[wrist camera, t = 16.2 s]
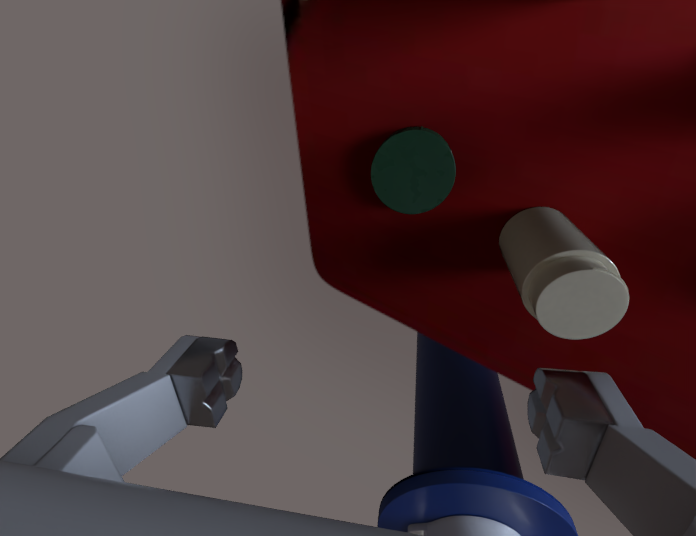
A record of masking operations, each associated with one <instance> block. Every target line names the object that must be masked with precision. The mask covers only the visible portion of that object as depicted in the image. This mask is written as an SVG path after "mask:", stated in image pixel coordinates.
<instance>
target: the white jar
mask: <svg viewBox="0 0 696 536" xmlns="http://www.w3.org/2000/svg"><path fill="white" fill-rule="evenodd" d="M499 247H500V251H501V254H502V256H503V258H504V260H505V263H506V265H507V267H508V270H509V272H510V274H511V276H512V279H513V281H514V283H515V286H516V288H517V290H518V292H519V295H520V297H521V299H522V302H523V304H524V306H525V308H526V309H527V311H528V312H529V313H530V314H531V315H532V316H533V317H535V318H536V319H538V321H539V323H540V324H541V326H542V327H543V328H544V329H545V330H547V331H548V332H549V333H551V334H553V335H555V336H558V337H561V338H566V339H586V338H591V337H594V336H598V335H600V334H602V333H604V332H606V331H608V330H610V329H611V328H612V327H614V326H615V325H616V324H617V323H618V322H619V321H620V320H621V319H622V317H623V316H624V314H625V312H626V310H627V307H628V302H629V294H628V288H627V286H626V284H625V282H624V280H622V279H621V278H620V274H619V271H618V269H617V267H616V266H615V264H614V263H613V262H612V261H611V260H610V259H609V258H608V257H607V256H606V255H605V254H604V253H603V252H602V251H601V250H600V249H599V248H598V247H597V246H596V245H594V244H593V243H592V242H591V241H590V240H589V239H588V238H587V237H586V236H585V235H584V234H583V233H582V232H581V231H580V230H579V229H578V228H577V227H576V226H575V225H574V224H573V223H572V222H571V221H570V220H569V219H568V218H567V217H566V216H565V215H564V214H562V213H561V212H559V211H557V210H555V209H552V208H548V207H534V208H530V209H526V210H524V211H522V212H519V213H518V214H516V215H515V216H513V217H512V218H511V219H510V220H509V221H508V222H507V223H506V224H505V226H504V227H503V229H502V231H501V234H500V238H499Z"/></svg>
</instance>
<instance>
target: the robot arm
mask: <svg viewBox="0 0 696 536" xmlns="http://www.w3.org/2000/svg"><path fill="white" fill-rule="evenodd" d="M237 352H238V350H237V346H236V342H234V341H232V340H226V339H218V338H210V337H198V336H190V335H185V336H183V337H181V338H180V339H179V340H178V341H177V342H176V343H175V344H174V345H173V346H172V347H171V348H170V349H169V350H168V351H167V352H166V353H165V354H164V355H163V356H162V357H161V359H160V360H159V361H158V362H157V363H156V364H155V365H154V366H153V367H152V368H151V369H150V370H149V371H148V372H141V373H139V374H137V375H135V376H133V377H131V378H128V379H126V380H124V381H122V382H120V383H118V384H116V385H114V386H112V387H110V388H107V389H105V390H103V391H101V392H99V393H97V394H95V395H93V396H91V397H89V398H86V399H84V400H82V401H80V402H78V403H77V404H74V405H72V406H70V407H68V408H65V409H63V410H61V411H59V412H57V413H55V414H53V415H51V416H49V417H47V418H46V419H44V420H43V421H42V422H41V423H40V424H39V425H37V426H36V427H35V428H34V429H33V430H32V431H31V432H30V433H29V434H27V435H26V436H25V437H24V438H23V439H22V440H21V441H20V442H18V443H17V444H16V445H15V446H14V447H13V448H12V449H11V450H10V451H8V452H7V453H6V454H5V455H4V456H3V457H2V458H0V536H521V535H520V534H518V533H517V532H516V531H515V530H513V529H512V528H510V527H508V526H506V525H504V524H502V523H500V522H497V521H494V520H491V519H487V518H483V517H477V516H465V515H460V516H449V517H444V518H440V519H437V520H435V521H432V522H428V523H415V524H410V525H409V526H408V533H407V532H401V531H396V530H390V529H384V528H379V527H373V526H367V525H362V524H355V523H350V522H345V521H339V520H333V519H327V518H322V517H317V516H311V515H305V514H300V513H294V512H289V511H283V510H277V509H272V508H266V507H260V506H255V505H249V504H243V503H238V502H232V501H227V500H221V499H215V498H210V497H204V496H199V495H193V494H187V493H182V492H176V491H170V490H165V489H159V488H153V487H148V486H142V485H137V484H131V483H125V482H124V480H123V478H122V475H124V474H125V473H126V472H128V471H129V470H130V469H132V468H133V467H134V466H136V465H137V464H138V463H140V462H141V461H142V460H144V459H145V458H146V457H148V456H149V455H150V454H151V453H153V452H154V451H155V450H157V449H158V448H159V447H161V446H162V445H163V444H165V443H166V442H167V441H169V440H170V439H171V438H173V437H174V436H175V435H177V434H178V433H179V432H180V431H182V430H183V429H184V428H186V427H187V425H194V426H204V427H213V428H216V426H217V425H218V423H219V421H220V420H221V418H222V416H223V415H224V413H225V411H226V410H227V404H226V401H228V400H229V399H231V398H232V397H234V396H235V395H236V393H237V391H238V389H239V388H240V384H241V380H242V367H241V363H240V362H239V361H238V360H237V359H236V358H235V355H236V354H237ZM533 381H534V383H535V386H536V389H535V390H533V391H532V392H531V393H530V395H529V399H528V420H529V424H530V428H531V431H532V433H533V434H535V435H536V436H537V437H538V438H539V441H538V445H537V451H538V454H539V457H540V460H541V463H542V466H543V469H544V473H545V474H550V475H556V476H562V477H568V478H575V479H580V480H586V481H585V483H586V484H587V485H588V486H589V487H590V488H591V489H592V491H593V492H594V493H595V494H596V495H597V496H598V497H599V498H600V499H601V500H602V502H603V503H604V504H605V505H606V506H607V507H608V508H609V509H610V510H611V512H612V513H613V514H614V515H615V516H616V517H617V518H618V519H619V520H620V522H621V523H622V524H623V525H624V526H625V527H626V528H627V529H628V530H629V531H630V533H631V534H632V535H633V536H696V460H695V459H694V458H692V457H691V456H689V455H688V454H686V453H685V452H683V451H682V450H681V449H679V448H678V447H676V446H675V445H673V444H672V443H670V442H669V441H668V440H666V439H665V438H663V437H662V436H660V435H659V434H657V433H656V432H655V431H653V430H651V429H644V428H643V426H642V424H641V423H640V421H639V420H638V418H637V417H636V415H635V414H634V412H633V410H632V409H631V407H630V406H629V404H628V403H627V401H626V400H625V398H624V397H623V395H622V393H621V392H620V390H619V389H618V387H617V386H616V384H615V383H614V381H613V379H612V378H611V376H610V375H608V374H607V373H601V372H587V371H582V372H580V371H569V370H557V369H545V368H538V369H537V370H536V372H535V375H534V379H533Z"/></svg>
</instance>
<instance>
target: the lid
mask: <svg viewBox="0 0 696 536" xmlns="http://www.w3.org/2000/svg"><path fill="white" fill-rule="evenodd" d="M455 174H456V167H455V161H454V157H453V154H452V152H451V149H450V147H449V145H448V144H447V142H446V141H445V140H444V139H443V137H442V136H440V135H439V134H438V133H436V132H434V131H433V130H430V129H428V128H424V127H423V126H421V127H407V128H404V129H401V130H398V131H396V132H395V133H393V134H392V135H390V136H389V137H388V138H387V139H386V140H385V141H384V142H383V143H382V145H381V146H380V148H379V149H378V151H377V152H376V154H375V156H374V159H373V162H372V166H371V180H372V185H373V188H374V190H375V193H376V194H377V196H378V197H379V199H380V200H381V201H382V202H383V203H384V204H385V205H386V206H388V207H389V208H391V209H393V210H395V211H397V212H400V213H405V214H418V213H423V212H426V211H429V210H431V209H433V208H435V207H436V206H438V205H439V204H440V203H441V202H442V201H443V200H444V199H445V198H446V197H447V195H448V194H449V192H450V191H451V189H452V187H453V184H454V180H455Z"/></svg>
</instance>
